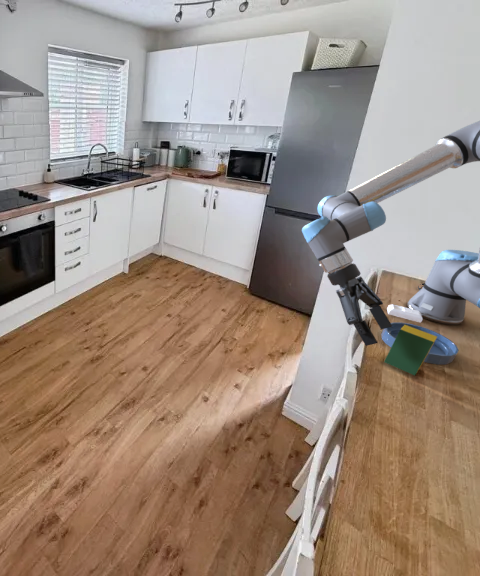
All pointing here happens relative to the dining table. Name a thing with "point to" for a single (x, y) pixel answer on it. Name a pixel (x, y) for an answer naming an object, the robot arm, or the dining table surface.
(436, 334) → the bowl
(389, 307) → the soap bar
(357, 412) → the dining table surface
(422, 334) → the sponge
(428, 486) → the dining table surface
